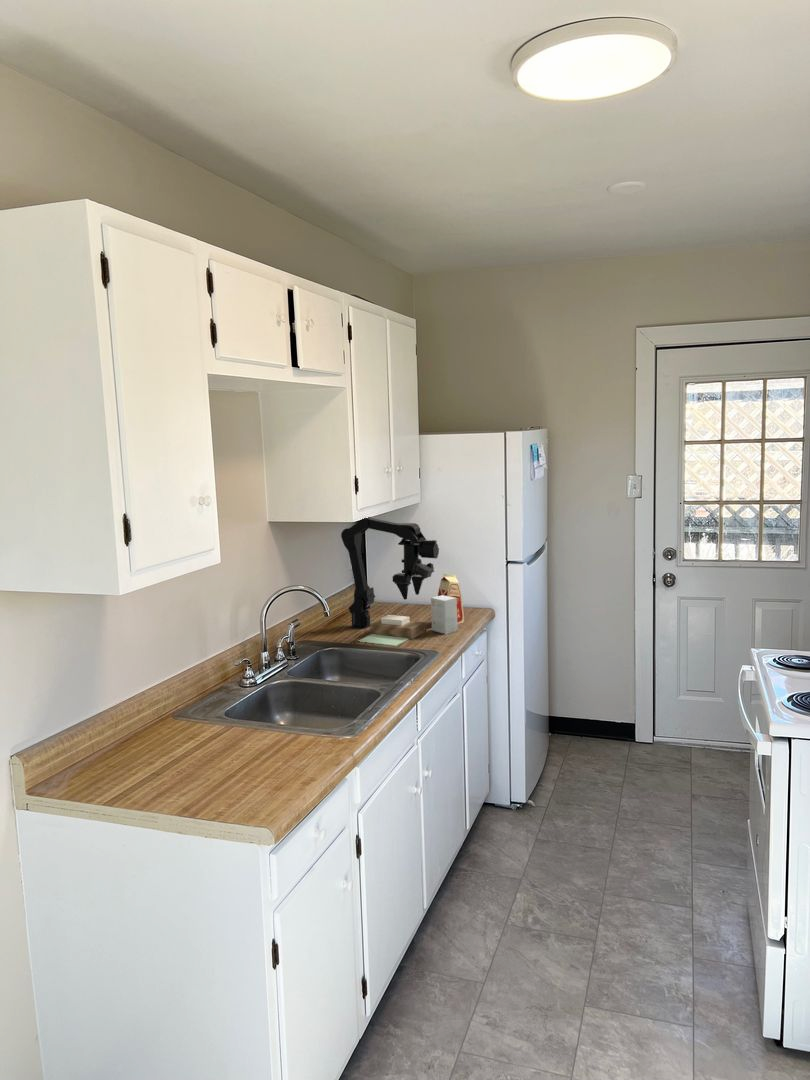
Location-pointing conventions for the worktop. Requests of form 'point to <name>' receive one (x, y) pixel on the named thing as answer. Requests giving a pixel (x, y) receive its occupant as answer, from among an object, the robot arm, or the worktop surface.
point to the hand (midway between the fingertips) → (411, 596)
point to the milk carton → (452, 593)
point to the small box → (444, 614)
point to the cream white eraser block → (395, 620)
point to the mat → (384, 640)
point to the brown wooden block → (398, 629)
